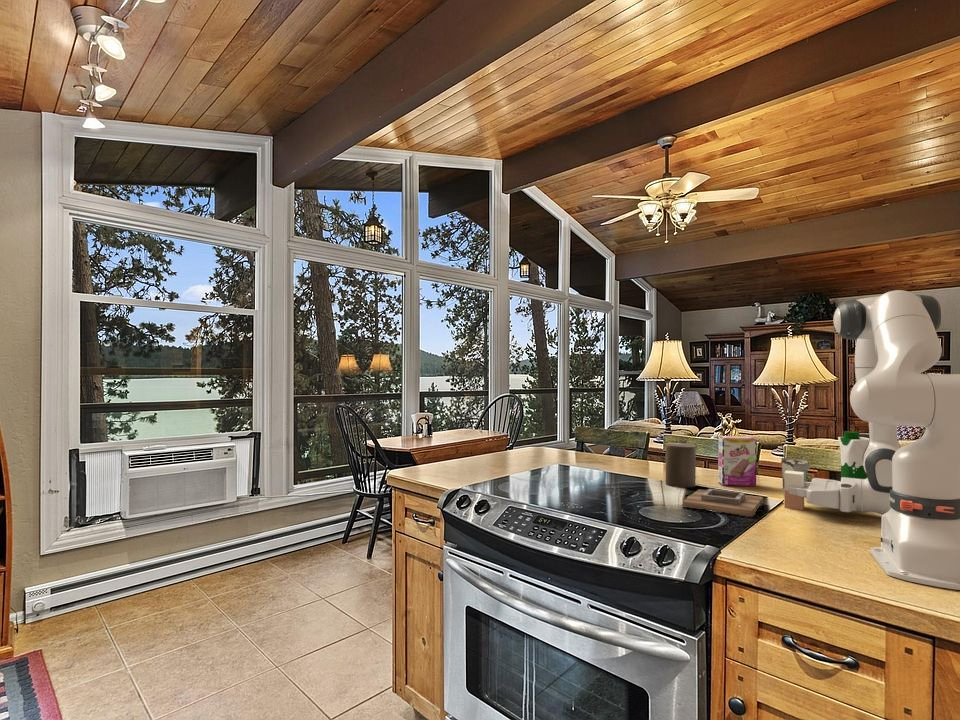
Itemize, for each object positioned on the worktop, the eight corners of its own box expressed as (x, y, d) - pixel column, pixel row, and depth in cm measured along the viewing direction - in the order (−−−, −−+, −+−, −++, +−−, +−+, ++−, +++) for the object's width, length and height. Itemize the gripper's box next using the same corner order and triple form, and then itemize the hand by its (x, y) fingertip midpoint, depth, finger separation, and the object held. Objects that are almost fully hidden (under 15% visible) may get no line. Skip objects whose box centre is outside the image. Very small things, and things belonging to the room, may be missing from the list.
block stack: (802, 510, 152) (802, 474, 152) (784, 507, 155) (784, 472, 155) (804, 506, 156) (803, 472, 156) (786, 504, 159) (786, 470, 159)
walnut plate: (752, 518, 145) (752, 505, 145) (682, 508, 155) (682, 495, 155) (762, 503, 159) (762, 492, 159) (698, 495, 170) (698, 484, 170)
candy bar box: (722, 486, 183) (722, 437, 183) (717, 483, 188) (717, 435, 188) (757, 486, 181) (757, 438, 182) (751, 483, 186) (751, 436, 187)
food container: (816, 497, 167) (816, 464, 167) (794, 496, 169) (794, 464, 169) (801, 488, 179) (801, 457, 180) (781, 487, 181) (781, 457, 181)
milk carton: (835, 492, 172) (834, 430, 173) (864, 492, 172) (863, 430, 172) (853, 499, 164) (853, 433, 164) (884, 499, 163) (883, 433, 164)
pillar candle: (672, 487, 181) (672, 442, 181) (661, 481, 190) (661, 438, 190) (700, 487, 181) (701, 443, 181) (688, 481, 191) (688, 438, 191)
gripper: (849, 476, 157) (794, 470, 165) (847, 489, 140) (786, 482, 148) (849, 497, 156) (794, 491, 165) (847, 514, 140) (786, 506, 148)
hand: (790, 487), depth 156 cm, fingers open, 7 cm apart
